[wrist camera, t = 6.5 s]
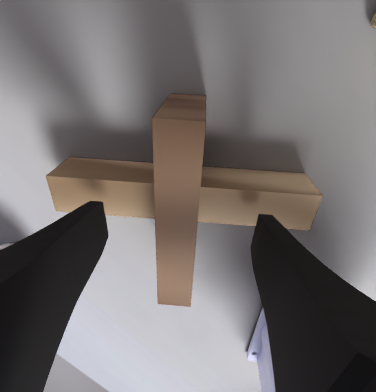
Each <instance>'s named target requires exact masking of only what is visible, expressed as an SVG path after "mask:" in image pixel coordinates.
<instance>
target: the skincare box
mask: <svg viewBox="0 0 376 392" xmlns="http://www.w3.org/2000/svg"><path fill="white" fill-rule="evenodd" d="M370 25H371V26H372V27H374V28H376V13H375V15H374V16H373V18H372V20H371V22H370Z"/></svg>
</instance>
